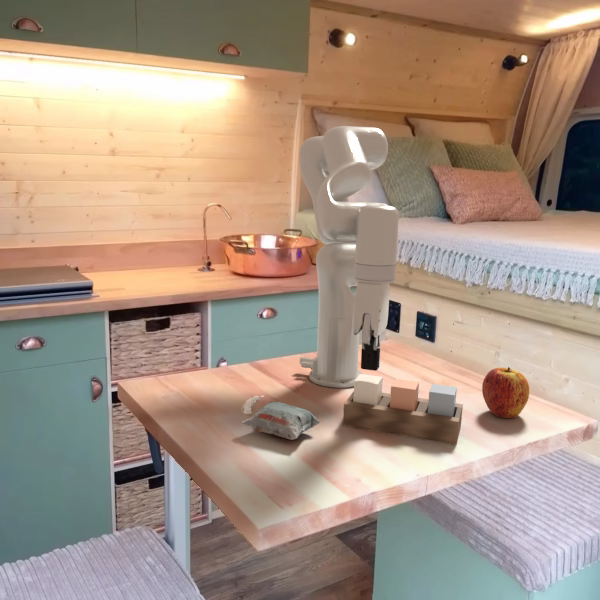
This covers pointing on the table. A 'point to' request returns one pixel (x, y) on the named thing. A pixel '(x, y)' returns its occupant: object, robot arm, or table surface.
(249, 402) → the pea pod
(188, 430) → the table surface
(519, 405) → the apple
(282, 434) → the packaged food
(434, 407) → the grey block
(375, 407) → the frame block
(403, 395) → the key terracotta
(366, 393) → the key cream
